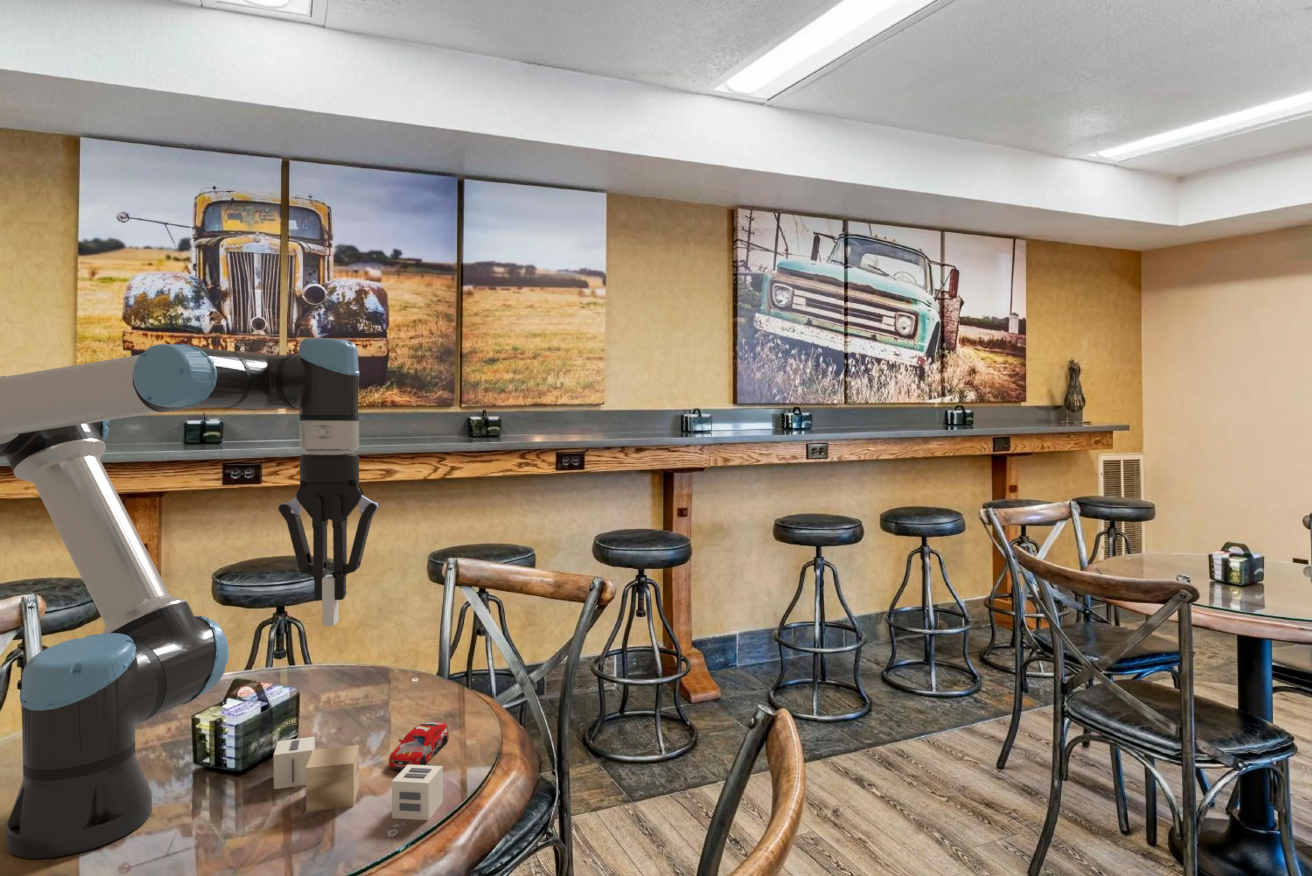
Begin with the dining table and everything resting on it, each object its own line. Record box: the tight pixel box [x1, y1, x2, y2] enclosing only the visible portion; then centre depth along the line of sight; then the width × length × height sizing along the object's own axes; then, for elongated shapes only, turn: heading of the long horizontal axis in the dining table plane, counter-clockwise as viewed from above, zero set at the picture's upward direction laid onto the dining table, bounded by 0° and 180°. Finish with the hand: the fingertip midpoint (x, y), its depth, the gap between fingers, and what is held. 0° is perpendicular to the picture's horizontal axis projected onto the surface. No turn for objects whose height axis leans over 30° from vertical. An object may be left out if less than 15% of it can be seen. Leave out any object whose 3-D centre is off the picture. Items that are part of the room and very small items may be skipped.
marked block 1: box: [273, 736, 316, 790], centre depth 113 cm, size 5×6×5 cm
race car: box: [388, 721, 449, 771], centre depth 122 cm, size 13×5×4 cm, turn 170°
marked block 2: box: [391, 764, 444, 821], centre depth 105 cm, size 5×5×5 cm
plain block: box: [305, 744, 360, 813], centre depth 108 cm, size 6×6×6 cm
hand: (330, 623), depth 107 cm, fingers closed
